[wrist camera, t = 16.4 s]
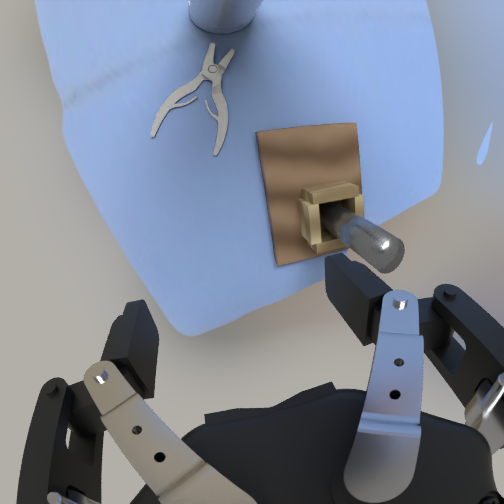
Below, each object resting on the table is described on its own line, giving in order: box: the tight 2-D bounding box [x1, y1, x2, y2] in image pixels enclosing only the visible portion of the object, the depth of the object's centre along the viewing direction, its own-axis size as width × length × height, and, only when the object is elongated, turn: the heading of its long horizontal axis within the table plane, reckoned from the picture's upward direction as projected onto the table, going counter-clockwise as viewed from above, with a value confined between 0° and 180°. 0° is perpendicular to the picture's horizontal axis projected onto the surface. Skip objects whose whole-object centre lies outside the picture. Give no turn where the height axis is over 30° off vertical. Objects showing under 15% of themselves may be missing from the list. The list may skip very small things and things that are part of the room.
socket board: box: [256, 123, 364, 266], centre depth 38 cm, size 20×15×6 cm
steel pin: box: [319, 201, 404, 273], centre depth 33 cm, size 4×4×16 cm
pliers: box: [151, 43, 235, 155], centre depth 31 cm, size 10×2×15 cm
